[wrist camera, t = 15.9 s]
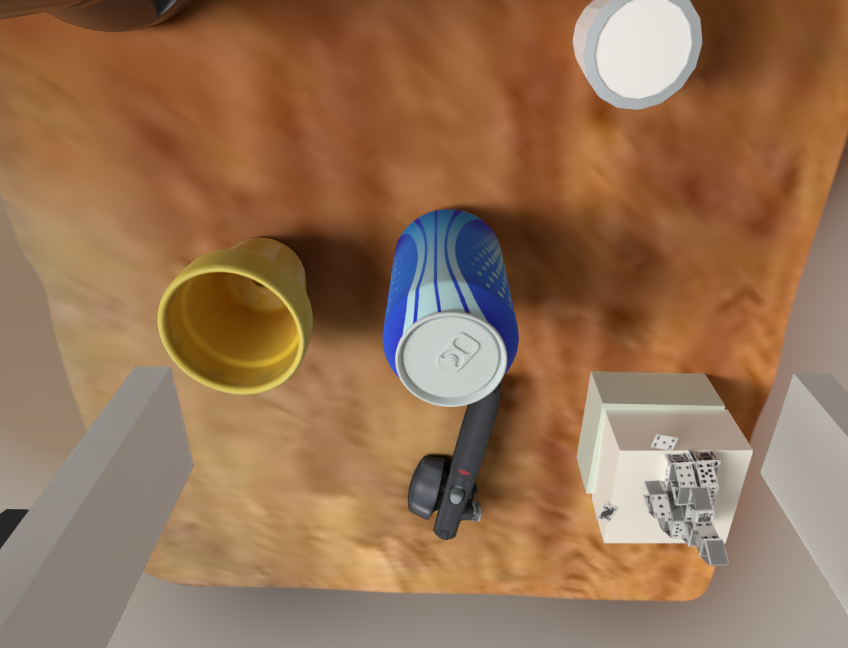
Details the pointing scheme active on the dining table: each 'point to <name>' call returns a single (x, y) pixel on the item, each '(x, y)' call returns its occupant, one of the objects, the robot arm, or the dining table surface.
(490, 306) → the beer can
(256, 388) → the plant pot
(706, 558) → the house of cards
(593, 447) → the tower bottom block
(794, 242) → the dining table surface
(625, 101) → the white gray-rimmed cylinder
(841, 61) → the dining table surface
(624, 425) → the tower top block
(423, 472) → the can opener
